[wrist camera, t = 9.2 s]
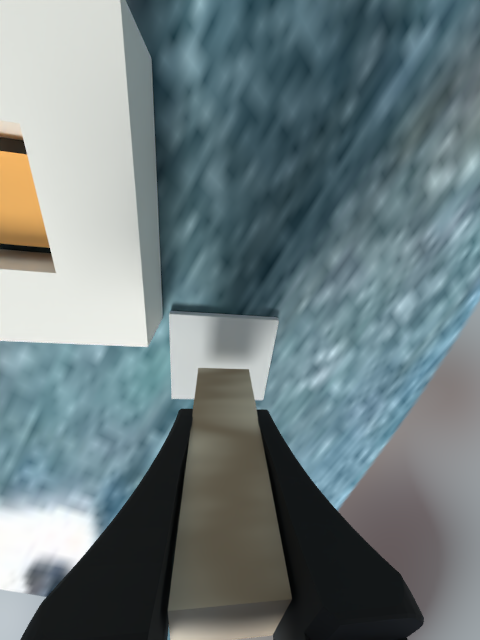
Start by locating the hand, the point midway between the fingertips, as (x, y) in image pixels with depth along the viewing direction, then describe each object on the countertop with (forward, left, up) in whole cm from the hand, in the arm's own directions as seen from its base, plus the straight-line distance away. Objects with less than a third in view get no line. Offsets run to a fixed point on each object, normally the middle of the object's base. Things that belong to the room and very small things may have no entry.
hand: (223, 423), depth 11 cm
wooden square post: (0, 0, -3) cm, 3 cm away
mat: (0, 0, -6) cm, 6 cm away
